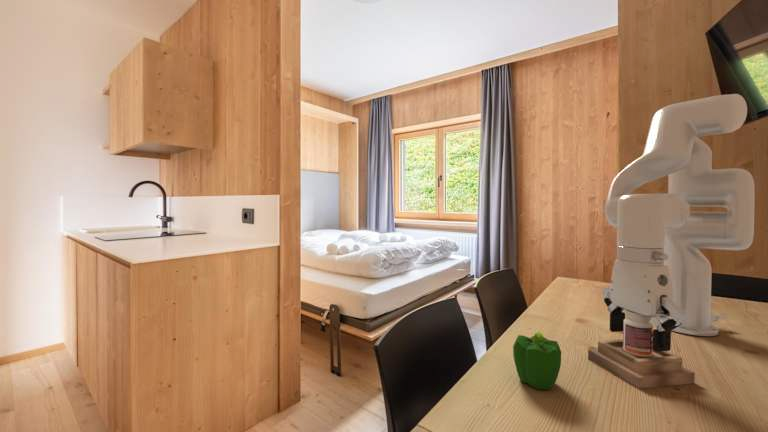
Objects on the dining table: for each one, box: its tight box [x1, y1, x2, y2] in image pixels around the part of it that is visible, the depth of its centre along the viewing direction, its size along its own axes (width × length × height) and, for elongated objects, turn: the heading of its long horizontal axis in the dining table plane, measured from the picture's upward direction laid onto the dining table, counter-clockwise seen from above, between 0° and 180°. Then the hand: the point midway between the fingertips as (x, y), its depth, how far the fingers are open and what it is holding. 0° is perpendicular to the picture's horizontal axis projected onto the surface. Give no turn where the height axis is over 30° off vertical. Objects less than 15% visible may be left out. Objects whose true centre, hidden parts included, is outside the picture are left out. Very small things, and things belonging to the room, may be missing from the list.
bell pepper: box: [512, 331, 562, 391], centre depth 62 cm, size 8×8×10 cm
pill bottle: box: [622, 309, 654, 357], centre depth 67 cm, size 5×5×8 cm
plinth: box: [587, 338, 696, 390], centre depth 67 cm, size 12×12×4 cm
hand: (637, 340), depth 67 cm, fingers open, 9 cm apart
